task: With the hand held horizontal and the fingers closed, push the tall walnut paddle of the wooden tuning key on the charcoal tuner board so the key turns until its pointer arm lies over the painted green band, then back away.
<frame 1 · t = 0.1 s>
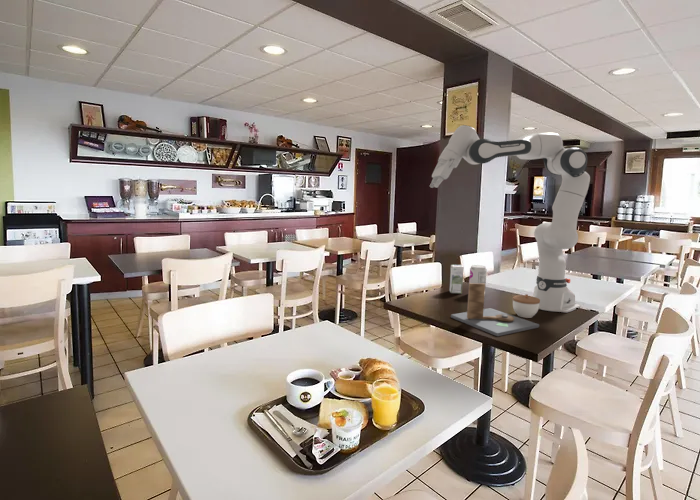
hand: (433, 187, 182), 54 cm above the table, tool tilted 30°, fingers open, 8 cm apart
tuner board: (493, 322, 166), on the table
tuning key: (491, 301, 165), point 9 cm above the table, hinge at -30.0°
supplement can: (476, 295, 210), on the table
syrup box: (455, 292, 215), on the table
lidded jar: (524, 316, 176), on the table
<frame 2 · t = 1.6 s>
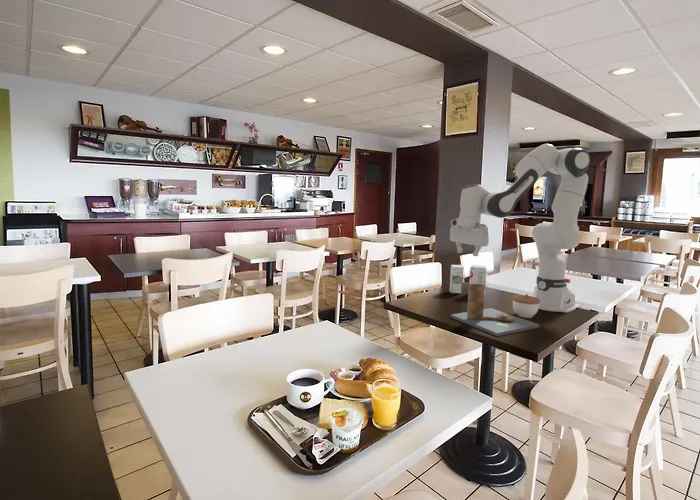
hand: (467, 254, 177), 26 cm above the table, tool pointing down, fingers open, 8 cm apart
nothing on the table moved.
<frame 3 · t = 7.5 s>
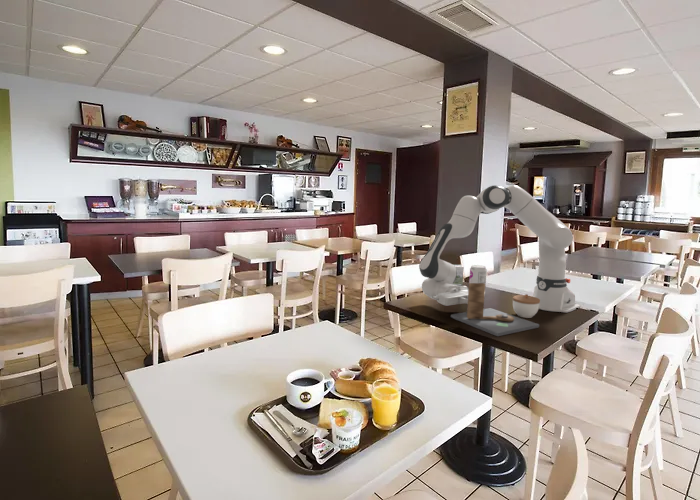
hand: (472, 302, 167), 8 cm above the table, tool horizontal, fingers closed
tuning key: (491, 301, 165), point 9 cm above the table, hinge at -29.9°, touching gripper
everything else where it was.
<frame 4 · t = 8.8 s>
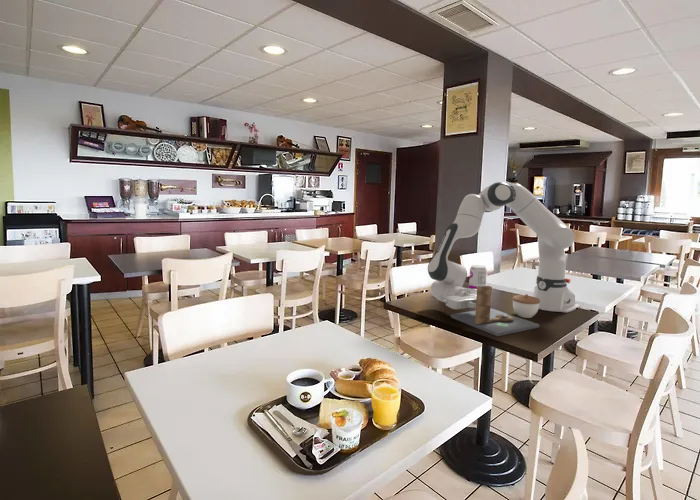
hand: (482, 306, 160), 8 cm above the table, tool horizontal, fingers closed on tuning key, 2 cm apart
tuning key: (495, 303, 162), point 9 cm above the table, hinge at -2.3°, touching gripper
everything else where it was.
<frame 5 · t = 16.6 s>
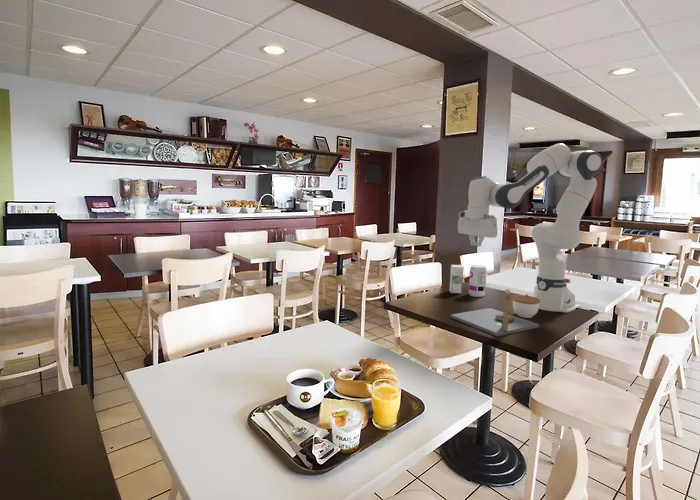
hand: (475, 245, 179), 29 cm above the table, tool pointing down, fingers closed
tuning key: (506, 305, 159), point 9 cm above the table, hinge at 42.1°
everything else where it was.
at the end: tuning key at +42° (first picture: -30°) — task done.
